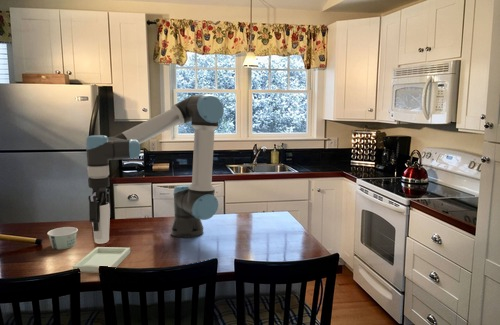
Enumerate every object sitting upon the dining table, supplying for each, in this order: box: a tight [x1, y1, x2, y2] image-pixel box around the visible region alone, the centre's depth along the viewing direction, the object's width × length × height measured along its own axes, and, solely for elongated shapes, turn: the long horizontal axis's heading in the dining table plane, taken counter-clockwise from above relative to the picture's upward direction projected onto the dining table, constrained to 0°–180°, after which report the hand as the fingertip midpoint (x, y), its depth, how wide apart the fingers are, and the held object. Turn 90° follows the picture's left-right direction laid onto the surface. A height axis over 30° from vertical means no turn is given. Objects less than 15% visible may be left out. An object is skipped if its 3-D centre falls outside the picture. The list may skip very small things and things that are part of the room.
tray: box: [72, 246, 131, 274], centre depth 154 cm, size 14×20×2 cm
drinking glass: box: [91, 202, 111, 245], centre depth 152 cm, size 7×7×15 cm
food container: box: [47, 226, 79, 250], centre depth 172 cm, size 12×12×6 cm
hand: (101, 235), depth 153 cm, fingers closed on drinking glass, 6 cm apart
